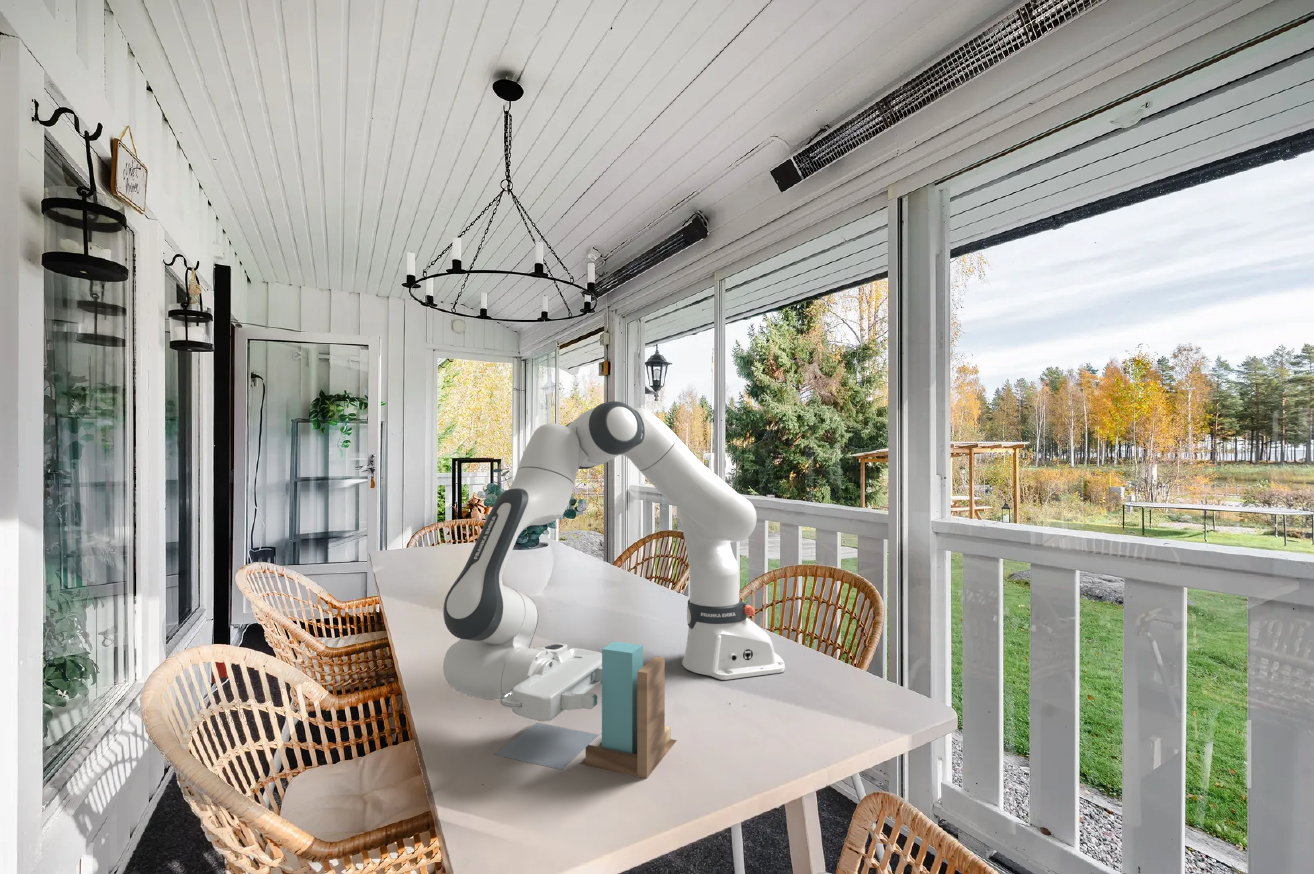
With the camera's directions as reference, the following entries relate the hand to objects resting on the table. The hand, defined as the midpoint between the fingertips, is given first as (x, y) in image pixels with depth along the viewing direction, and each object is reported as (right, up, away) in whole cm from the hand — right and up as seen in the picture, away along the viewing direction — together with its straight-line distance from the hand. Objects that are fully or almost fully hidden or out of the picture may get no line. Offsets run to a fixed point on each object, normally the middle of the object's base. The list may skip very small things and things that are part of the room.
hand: (609, 690), depth 95 cm
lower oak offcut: (+4, -10, +5) cm, 12 cm away
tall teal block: (+2, -10, -1) cm, 10 cm away
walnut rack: (+3, -11, +1) cm, 12 cm away
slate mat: (-10, -11, +4) cm, 15 cm away
